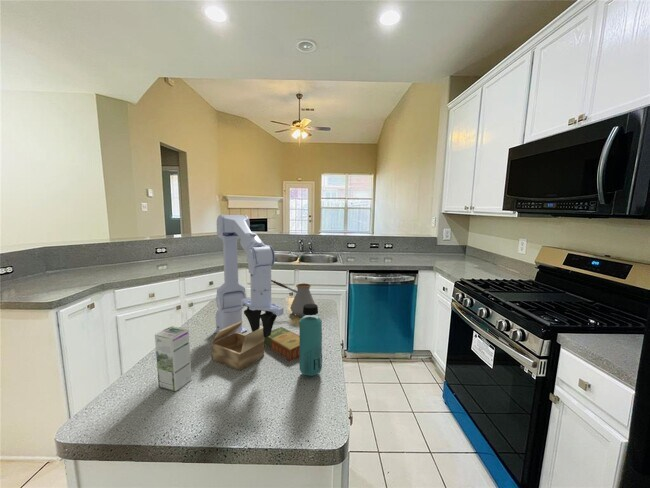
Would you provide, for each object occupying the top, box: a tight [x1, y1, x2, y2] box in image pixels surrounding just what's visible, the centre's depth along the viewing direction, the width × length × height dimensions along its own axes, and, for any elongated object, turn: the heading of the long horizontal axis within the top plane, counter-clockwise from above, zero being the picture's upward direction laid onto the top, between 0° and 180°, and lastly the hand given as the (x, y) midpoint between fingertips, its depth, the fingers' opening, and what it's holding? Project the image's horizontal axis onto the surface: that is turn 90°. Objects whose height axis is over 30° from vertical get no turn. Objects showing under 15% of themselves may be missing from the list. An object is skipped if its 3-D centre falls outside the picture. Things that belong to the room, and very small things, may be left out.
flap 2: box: [241, 326, 265, 353], centre depth 84 cm, size 6×9×1 cm
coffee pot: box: [271, 279, 316, 318], centre depth 126 cm, size 21×12×15 cm, turn 84°
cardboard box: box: [210, 332, 265, 372], centre depth 88 cm, size 12×10×5 cm
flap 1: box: [211, 320, 243, 344], centre depth 90 cm, size 6×9×1 cm
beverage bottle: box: [298, 303, 323, 377], centre depth 79 cm, size 6×7×20 cm
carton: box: [264, 326, 300, 362], centre depth 95 cm, size 8×16×4 cm, turn 44°
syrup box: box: [154, 325, 192, 392], centre depth 74 cm, size 6×6×14 cm
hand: (261, 334), depth 83 cm, fingers open, 4 cm apart
